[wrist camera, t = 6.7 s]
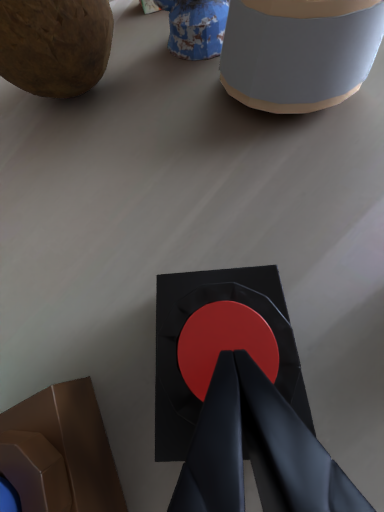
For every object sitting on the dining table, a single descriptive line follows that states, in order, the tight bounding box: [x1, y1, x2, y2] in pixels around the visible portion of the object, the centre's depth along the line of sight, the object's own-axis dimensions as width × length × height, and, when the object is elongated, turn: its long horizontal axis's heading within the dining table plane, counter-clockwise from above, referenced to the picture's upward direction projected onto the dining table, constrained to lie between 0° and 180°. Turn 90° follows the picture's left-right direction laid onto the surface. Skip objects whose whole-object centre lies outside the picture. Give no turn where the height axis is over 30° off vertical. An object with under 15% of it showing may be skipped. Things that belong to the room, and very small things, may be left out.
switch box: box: [155, 265, 316, 462], centre depth 15 cm, size 11×9×6 cm
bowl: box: [0, 0, 114, 98], centre depth 29 cm, size 19×19×15 cm
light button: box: [177, 301, 279, 402], centre depth 12 cm, size 5×5×2 cm
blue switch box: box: [0, 376, 128, 512], centre depth 13 cm, size 10×8×6 cm
